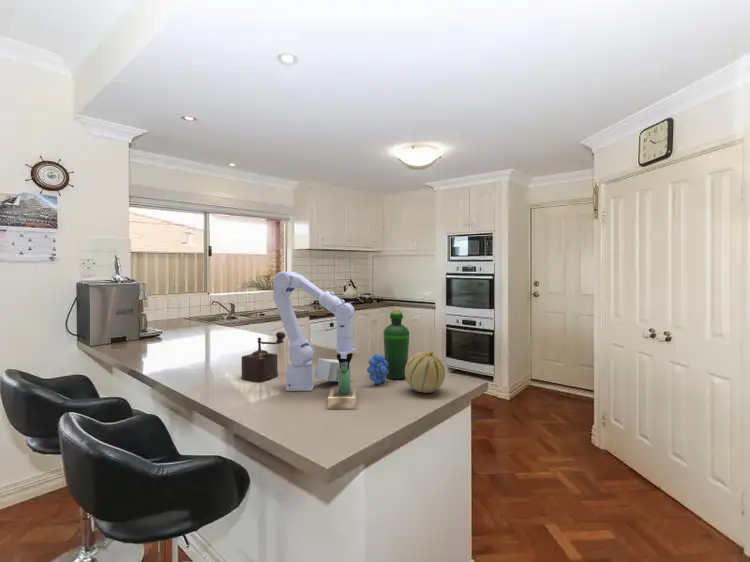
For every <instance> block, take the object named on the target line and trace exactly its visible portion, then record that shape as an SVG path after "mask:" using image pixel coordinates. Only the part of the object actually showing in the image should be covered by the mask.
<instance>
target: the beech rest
mask: <svg viewBox="0 0 750 562" xmlns="http://www.w3.org/2000/svg"><path fill="white" fill-rule="evenodd" d="M357 393H358V391H357V388H353V389H352V395H351V396H336V389H335V388H330V391H329V394H328V397H327V409H328V410H341V409H343V410H352V409H353V410H356V408H357V407H356V406H357V396H358V394H357Z"/></svg>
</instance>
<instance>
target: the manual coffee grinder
mask: <svg viewBox="0 0 750 562" xmlns="http://www.w3.org/2000/svg"><path fill="white" fill-rule="evenodd" d="M275 336H276V341H274V342H273V341H271V342H270V341H262V338H261V337H257V343H258V348H257V350H256V351H255V350H254V351H253V352H252V353H250V354H247V355H242V356H241V380H243V381H248V382H256V383H260V384H261V383H264V382H265V381H266V382H267V381H271V380H272V379H275V378H276V377H278V376H279V374H278V373H279V372H278V368H279V367H278V354H277V353H271V352H268V351H267V350H264V349H263V350H262V345H277V344H278V345H281V344H283V343H284V339H285V338H286V336H287V334H286V332H282V331H278V332H276V334H275ZM261 344H262V345H261Z"/></svg>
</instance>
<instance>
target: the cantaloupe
mask: <svg viewBox="0 0 750 562" xmlns="http://www.w3.org/2000/svg"><path fill="white" fill-rule="evenodd" d="M445 378H446V368H445V364H444V362H443V361H442V359H441V357H439V356H438V355H437V354H435V353H434V351H427V350H425V351H424V350H423V351H418V352H415V353H414V354H412V355H411V356H410V357H409V358H408V362H407V364H406V367H405V378H404V379H405V380H406V382H407V384H408V386H409V387H411V388H412V389H413V390H414V391H416V392H418V393H422V394H428V393H430V394H431V393H433V392H435V391H437V390H438V389H440V387H442V385H443V383H444V381H445Z"/></svg>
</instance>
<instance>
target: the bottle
mask: <svg viewBox="0 0 750 562" xmlns="http://www.w3.org/2000/svg"><path fill="white" fill-rule="evenodd" d="M389 314H390V315H389V319H390V320H391V324H389V325H388V326H386V327H385V328H384V330H383V350H384V357H385V360H386V361H387V362H388V367H386V368H387V369H388V371H389V373H388V375H385V377H386V379H389V380H393V381H398V380H404V379H406V378H405V367H406V364H407V362H408V360H409V347H410V331H409V329H408V328H407V327H406V326H405V325H403V324H402V322H403V321H402V320H403V319H404V316H403V315H404V314H403V312H402V311H401V308H392V312H390V313H389Z"/></svg>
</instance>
